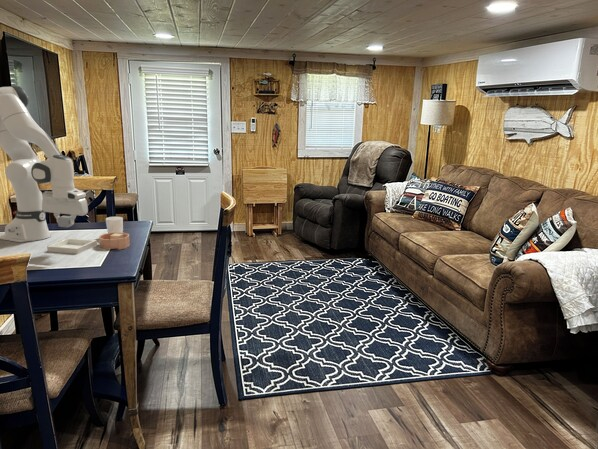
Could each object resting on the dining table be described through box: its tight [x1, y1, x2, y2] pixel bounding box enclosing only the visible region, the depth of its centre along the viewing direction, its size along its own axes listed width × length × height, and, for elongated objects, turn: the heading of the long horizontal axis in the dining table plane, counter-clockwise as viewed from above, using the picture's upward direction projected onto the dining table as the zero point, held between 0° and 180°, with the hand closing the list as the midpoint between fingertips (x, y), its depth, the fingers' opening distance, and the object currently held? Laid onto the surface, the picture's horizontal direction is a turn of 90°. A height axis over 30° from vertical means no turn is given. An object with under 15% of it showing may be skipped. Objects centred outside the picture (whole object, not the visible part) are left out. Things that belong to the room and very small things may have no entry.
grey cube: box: [57, 215, 74, 228], centre depth 200 cm, size 4×4×4 cm
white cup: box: [105, 216, 124, 233], centre depth 225 cm, size 8×8×10 cm
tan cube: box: [110, 233, 124, 239], centre depth 214 cm, size 4×4×4 cm
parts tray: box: [46, 237, 98, 255], centre depth 205 cm, size 15×14×3 cm
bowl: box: [98, 232, 131, 251], centre depth 212 cm, size 13×13×5 cm
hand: (65, 223), depth 200 cm, fingers closed on grey cube, 4 cm apart
